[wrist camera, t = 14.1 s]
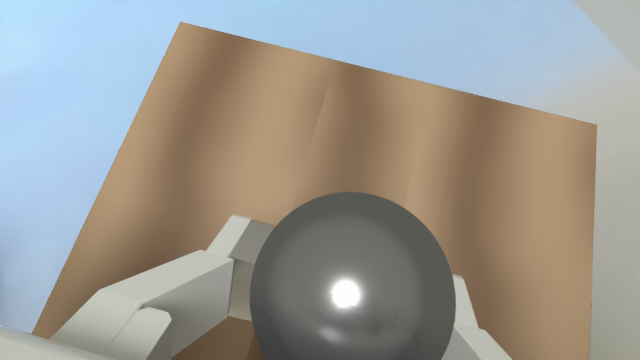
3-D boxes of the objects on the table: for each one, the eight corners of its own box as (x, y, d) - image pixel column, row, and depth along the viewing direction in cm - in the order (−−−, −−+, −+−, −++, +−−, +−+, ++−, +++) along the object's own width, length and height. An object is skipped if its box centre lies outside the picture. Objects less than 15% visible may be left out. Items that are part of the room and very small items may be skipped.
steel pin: (365, 261, 15) (468, 220, 5) (349, 334, 14) (437, 439, 5) (298, 242, 15) (284, 170, 6) (278, 313, 14) (219, 374, 5)
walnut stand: (529, 162, 20) (596, 124, 16) (490, 588, 15) (576, 734, 10) (209, 80, 21) (180, 21, 17) (54, 449, 16) (-59, 522, 11)
